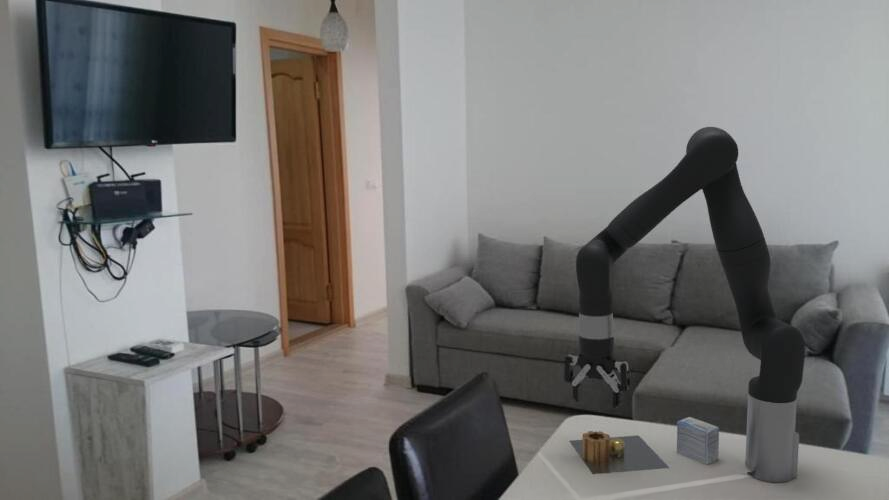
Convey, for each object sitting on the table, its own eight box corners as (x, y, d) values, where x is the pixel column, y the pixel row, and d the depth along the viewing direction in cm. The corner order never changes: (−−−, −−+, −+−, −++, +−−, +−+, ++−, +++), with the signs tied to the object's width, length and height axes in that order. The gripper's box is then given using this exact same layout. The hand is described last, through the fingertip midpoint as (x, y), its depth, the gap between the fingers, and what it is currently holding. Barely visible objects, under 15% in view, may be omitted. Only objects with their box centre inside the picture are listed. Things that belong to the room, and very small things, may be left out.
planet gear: (602, 450, 159) (602, 429, 158) (614, 461, 153) (615, 440, 153) (577, 453, 158) (577, 432, 157) (589, 465, 152) (589, 443, 151)
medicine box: (718, 464, 154) (720, 426, 152) (706, 470, 151) (707, 432, 150) (688, 452, 160) (689, 415, 159) (675, 457, 158) (676, 420, 156)
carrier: (638, 440, 167) (638, 421, 166) (669, 472, 150) (669, 452, 150) (569, 445, 165) (569, 426, 164) (592, 479, 148) (592, 458, 148)
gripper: (558, 333, 152) (560, 404, 155) (623, 341, 145) (623, 415, 147) (571, 325, 159) (572, 393, 161) (633, 331, 151) (634, 403, 154)
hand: (597, 404), depth 154 cm, fingers open, 8 cm apart
